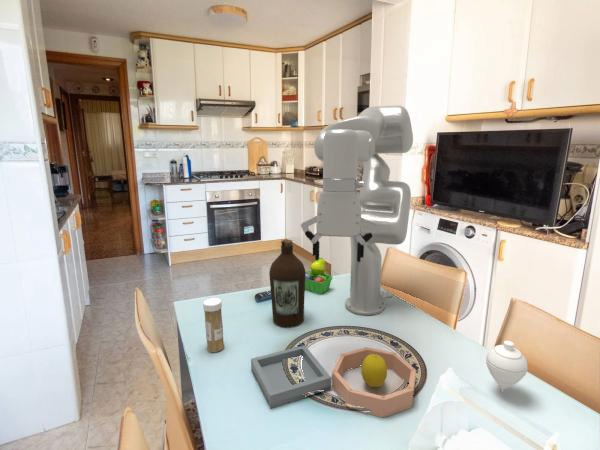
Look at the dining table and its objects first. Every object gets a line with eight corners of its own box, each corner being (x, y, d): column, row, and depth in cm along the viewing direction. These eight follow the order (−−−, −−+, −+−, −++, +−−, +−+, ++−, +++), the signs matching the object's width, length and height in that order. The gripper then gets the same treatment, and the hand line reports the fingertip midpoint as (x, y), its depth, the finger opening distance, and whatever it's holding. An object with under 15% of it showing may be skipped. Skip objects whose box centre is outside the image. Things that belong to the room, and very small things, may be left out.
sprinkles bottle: (224, 351, 95) (221, 303, 91) (206, 354, 94) (202, 305, 90) (224, 342, 99) (221, 296, 96) (206, 344, 98) (203, 298, 95)
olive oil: (273, 311, 116) (271, 235, 110) (306, 312, 115) (306, 236, 109) (268, 328, 106) (265, 246, 100) (304, 329, 105) (304, 246, 99)
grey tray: (304, 355, 92) (304, 345, 92) (331, 389, 80) (331, 377, 79) (251, 369, 87) (250, 358, 86) (270, 408, 74) (270, 395, 74)
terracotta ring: (382, 356, 91) (382, 342, 90) (431, 399, 76) (432, 383, 75) (321, 374, 85) (321, 359, 84) (361, 425, 70) (362, 407, 69)
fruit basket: (295, 288, 134) (295, 259, 131) (310, 281, 140) (310, 253, 138) (320, 296, 127) (321, 266, 124) (335, 288, 133) (335, 259, 131)
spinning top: (529, 407, 74) (537, 354, 71) (488, 403, 75) (495, 351, 72) (514, 382, 81) (521, 334, 78) (477, 379, 83) (483, 331, 80)
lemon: (386, 396, 77) (388, 363, 76) (360, 393, 78) (361, 360, 77) (386, 380, 83) (387, 348, 81) (361, 377, 84) (362, 346, 82)
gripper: (377, 185, 84) (374, 256, 88) (303, 184, 86) (302, 253, 90) (380, 188, 77) (376, 266, 80) (299, 187, 79) (299, 262, 82)
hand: (337, 259), depth 85 cm, fingers open, 9 cm apart
